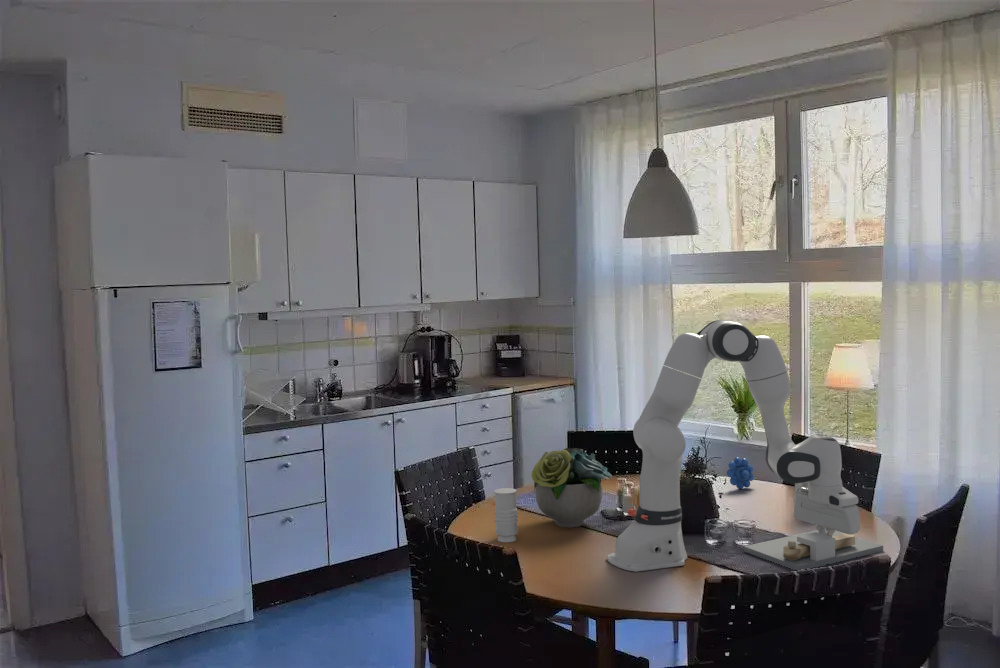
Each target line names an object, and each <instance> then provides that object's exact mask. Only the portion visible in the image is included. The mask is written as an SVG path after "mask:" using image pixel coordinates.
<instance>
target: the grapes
mask: <svg viewBox="0 0 1000 668" xmlns="http://www.w3.org/2000/svg"><path fill="white" fill-rule="evenodd" d="M727 464H728V468H729V469H728V470H727V471H726V476H727V477H728V478H729V483H730V484H731V485H732V486H736V488H737V489H738V490H743V489H744V488H750V486H751V482H752V481H754V480H755V475H754V474H753V471H754V467H753V466H752V465H751V464H749V460H748V459H747V458H745V457H744V458H740V457H739V456H736V457H735V458H734V459H733V461H729V462H728V463H727Z"/></svg>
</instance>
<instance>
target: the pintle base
mask: <svg viewBox="0 0 1000 668" xmlns="http://www.w3.org/2000/svg"><path fill="white" fill-rule="evenodd" d="M825 531H826V528H825ZM826 534H827V531H826ZM841 534H845V533H842V532H839V531H836V530H835V532H834V534H833V535H832V536H837V535H841ZM801 543H802V544H805V545H808V546H810V555H809V556H804V557H801V558H800V559H796V560H792V559H787V558H784V557H783V547H784V546H788V547H790V548H795V547H796V545H797V544H801ZM743 552H744V553H747V554H749V555H753V556H755V557H758V558H760V559H762V558H763V560H765V559H766V560H765V561H768V560H769V561H768V562H770V561H772V562H771V563H773V562H774V563H773V564H776V563H777V564H776V565H778V564H780V565H779V566H781V565H782V566H781V567H784V566H785V567H784V568H786V567H788V568H787V569H789V568H792V569H793V570H792V569H791V570H792V571H794V570H801V569H807V568H812V569H814V568H813V567H816V568H820V567H819V566H821V567H824V566H827V565H826V564H829V565H832V564H836V562H837V563H839V562H840V561H841V562H845V561H848V560H853V559H856V557H857V558H860V557H863V556H868V555H871V554H875V553H880V552H884V545H882V544H880V543H876V542H873V541H870V540H867V539H863V538H860V537H856V536H855V545H851V546H847V547H843V548H838V549H835V538H833V537H830V536H827V535H824V534H820V533H819V532H818V530H817V529H815V530H812V531H807V532H803V533H799V534H798V533H797V534H793V535H788V536H785V537H780V538H776V539H771V540H767V541H761V542H758V543H757V542H756V543H753V544H749V545H744V546H743ZM841 562H840V563H841Z"/></svg>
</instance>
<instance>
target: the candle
mask: <svg viewBox="0 0 1000 668" xmlns="http://www.w3.org/2000/svg"><path fill="white" fill-rule="evenodd" d="M493 492H494V494H495V495H494V497H495V498H494V501H495V508H494V515H495V516H494V518H495V520H494V523H495V534H496V535H497V536H498V537H497V541H498V542H500V543H512V542H516V541H517V536H516V535H517V534H518V533H519V529H518V521H519V520H518V507H517V489H516V488H511V487H501V488H496V489H494V491H493Z"/></svg>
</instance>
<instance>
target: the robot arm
mask: <svg viewBox="0 0 1000 668" xmlns="http://www.w3.org/2000/svg"><path fill="white" fill-rule="evenodd" d="M714 359H717V360H720V361H726V362H733V363H734V362H739V364H740V365H741V366H742V367H741V368H742V369H743V372H744V376H745V380H746V383H747V386H748V389H749V392H750V394H751V397H752V398H753V400H754V402H755V404H756V407H757V409H758V411H759V413H760V416H761V420H762V424H763V428H764V432H765V437H766V443H767V444H766V451H765V463H766V465H767V467H768V469H769V470H770V471H771V472H773V473H774V474H776V475H777V476H778V477H779V478H780V480H782V481H783V482H785V483H788V484H794V485H795V484H796V483H803V482H808V489H806V488H803V487H800V488H799V489H797V491H796V499H795V505H793V509H794V510H793V516H794V517H795V519H797V520H799V521H802V522H806V523H810V524H811V525H815V526H816V530H818V532H819V533H820V534H824V535H827V536H830V537H832V535H833V534H834V532H835V531H837V532H840V533H844V534H849V535H855V534H857V533H859V531H860V530H861V515H860V509H859V507H858V506H857V504H859V497H858V496H857V495H856V494H854V493H852V492H851V491H849V490H848V489H846V487H844V486H843V480H842V478H841V472H842V469H843V463H842V458H843V457H842V451H841V445H840V443H839V441H838V440H837V439H836V438H834V437H832V436H829V435H825V434H819V433H818V434H815V433H813V434H810V436H809V437H807V438H806V439H804V440H803V441H802V442H799V443H797V444H796V443H795V442H794V441H793V440H792V438H791V436H790V433H789V431H790V430H789V428H788V424H787V420H786V416H785V410H784V409H785V404H786V402H787V401H788V400H789V399H790V398H789V397H790V396H791V386H790V385H791V383H790V378H789V374H788V373H789V372H788V371H787V367H786V364H785V360H784V359H783V355H782V353H781V351H780V349H779V347H778V345H777V343H776V341H775V340H774V338H772V337H770V336H768V335H754V334H753V332H751V330H749V328H748V327H746V325H744V324H742V323H740V322H736V321H733V320H729V319H719V320H718V319H716V320H714V321H711V322H710V323H708V324H706V325H705V326H704V327H703V328H702V329H700V331H698V332H697V333H693V332H684V333H681V334H679V335H678V336H677V337H676V339H675V340H674V342H673V344H672V345H671V347H670V348H669V351H668V353H667V355H666V357H665V360H664V362H663V365H662V368H661V370H660V373H659V376H658V378H657V381H656V383H655V386H654V389H653V391H652V393H651V396H650V397H649V399H648V401H647V403H646V404H645V406H644V408H643V410H642V412H641V414H640V416H639V418H637V420H636V422H635V423H634V425H633V429H632V431H633V439H634V442H635V444H636V445H637V446H638V448H639V449H641V451H642V463H641V470H640V475H639V478H638V482H639V483H638V486H639V505H638V507H637V510H636V509H633V508H628V510H627V515H628V516H629V517H633V518H634V521H633V522H631V524H630V525H629V526H628V527H627V528H626V529H625V530H623V531H622V533H620V534H619V535H618V536H617V538H616V540H615V546H614V552H611V553H609V554H607V555H606V560H607V562H609V563H610V564H611V565H612V566H615V567H617V568H619V569H622V570H625V571H630V572H644V571H645V572H646V571H650V570H652V571H653V570H660V569H666V568H674V567H680V566H685V563H686V562H685V561H686V560H687V559H688V554H687V551H686V548H685V543H684V538H683V530H682V520H683V511H682V509H683V508H682V506H681V493H680V491H681V487H680V485H681V484H680V479H681V472H682V470H681V469H682V465H683V456H684V453H685V451H686V439H685V435H684V434H683V432H682V431H681V428H680V427H679V424H680V423H681V421H682V419H683V418H684V416H685V415H686V413H687V412H688V410H689V409H691V407H692V406H693V403H694V400H695V397H696V395H697V392H698V389H699V388H700V384H701V381H702V379H703V375H704V373H705V369H706V368H707V366H708V364H709V363H710V362H711V361H712V360H714ZM825 528H826V531H827V534H826V531H825Z"/></svg>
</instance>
